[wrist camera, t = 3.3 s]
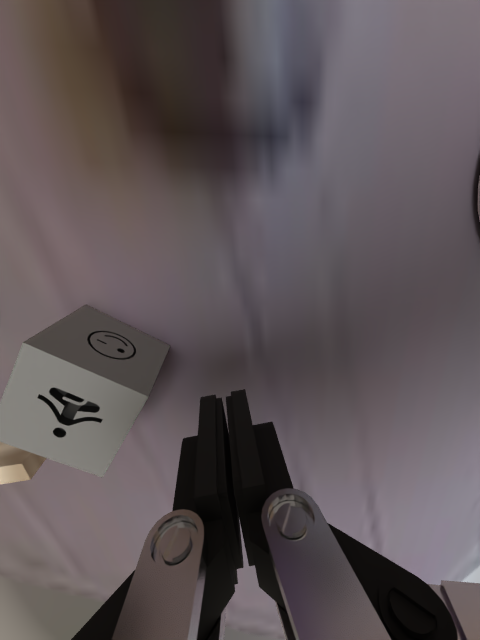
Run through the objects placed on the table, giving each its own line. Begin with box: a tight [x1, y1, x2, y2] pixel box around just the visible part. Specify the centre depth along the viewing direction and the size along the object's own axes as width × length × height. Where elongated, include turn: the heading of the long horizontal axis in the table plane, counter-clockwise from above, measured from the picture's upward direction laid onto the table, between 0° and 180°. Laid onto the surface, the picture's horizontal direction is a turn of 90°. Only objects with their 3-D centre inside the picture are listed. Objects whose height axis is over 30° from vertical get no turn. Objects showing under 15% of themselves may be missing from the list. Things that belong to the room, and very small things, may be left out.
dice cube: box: [0, 305, 170, 478], centre depth 14 cm, size 5×5×5 cm
